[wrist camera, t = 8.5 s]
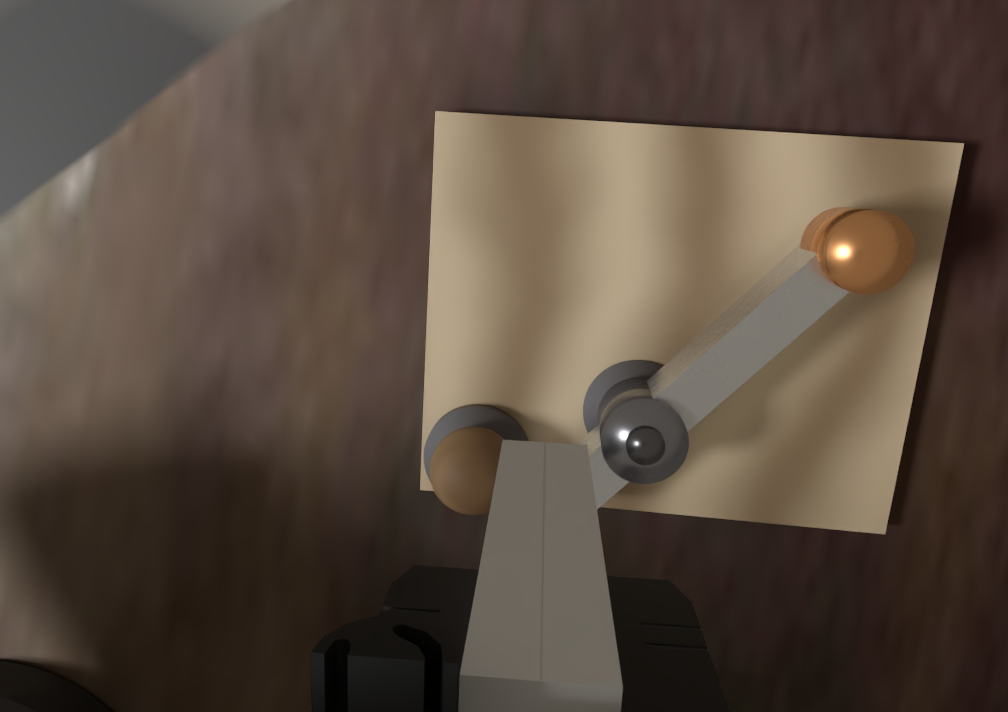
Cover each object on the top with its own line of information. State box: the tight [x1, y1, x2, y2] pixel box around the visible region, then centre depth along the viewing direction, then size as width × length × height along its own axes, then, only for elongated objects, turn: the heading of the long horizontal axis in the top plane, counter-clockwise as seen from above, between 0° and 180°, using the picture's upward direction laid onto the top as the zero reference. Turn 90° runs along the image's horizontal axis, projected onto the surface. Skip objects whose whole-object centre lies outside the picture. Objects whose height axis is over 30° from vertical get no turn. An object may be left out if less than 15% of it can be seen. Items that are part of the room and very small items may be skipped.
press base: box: [420, 111, 964, 534], centre depth 29 cm, size 20×16×5 cm
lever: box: [577, 207, 915, 509], centre depth 28 cm, size 3×16×4 cm, turn 135°
